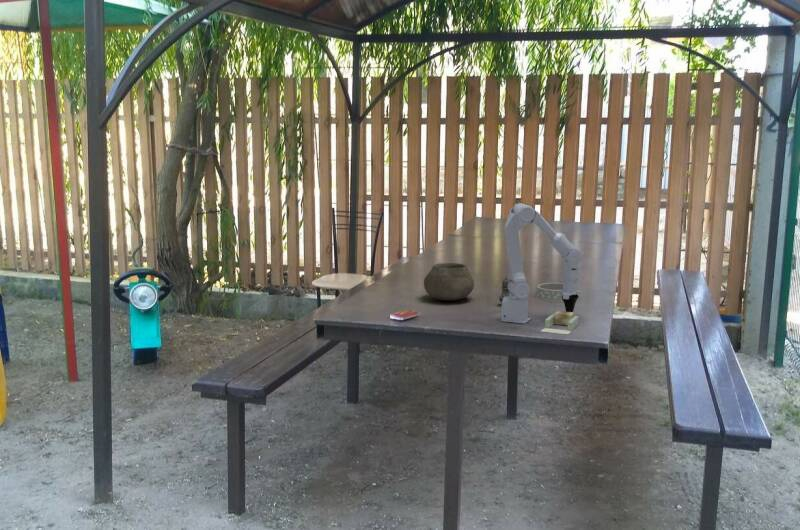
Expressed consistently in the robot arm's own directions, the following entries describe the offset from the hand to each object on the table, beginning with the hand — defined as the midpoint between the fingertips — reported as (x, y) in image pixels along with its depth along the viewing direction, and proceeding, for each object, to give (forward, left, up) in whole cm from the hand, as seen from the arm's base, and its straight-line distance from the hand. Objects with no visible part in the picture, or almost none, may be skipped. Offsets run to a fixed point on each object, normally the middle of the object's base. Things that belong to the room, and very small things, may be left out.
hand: (569, 314), depth 295 cm
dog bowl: (-14, +34, -2) cm, 37 cm away
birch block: (0, -8, -2) cm, 9 cm away
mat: (0, -20, -2) cm, 20 cm away
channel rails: (0, -11, -2) cm, 12 cm away
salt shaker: (-29, +11, -2) cm, 31 cm away
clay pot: (-54, +11, -2) cm, 55 cm away
